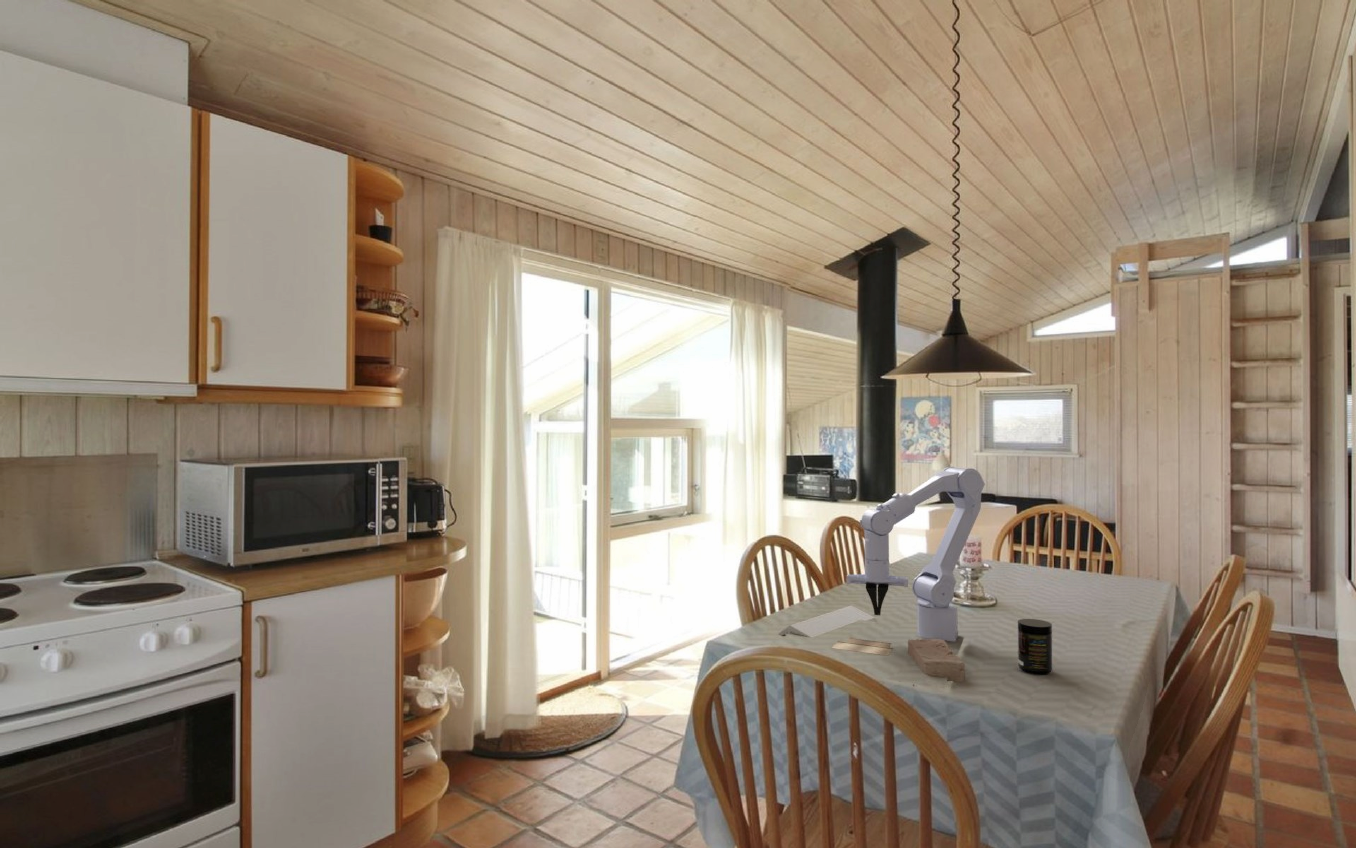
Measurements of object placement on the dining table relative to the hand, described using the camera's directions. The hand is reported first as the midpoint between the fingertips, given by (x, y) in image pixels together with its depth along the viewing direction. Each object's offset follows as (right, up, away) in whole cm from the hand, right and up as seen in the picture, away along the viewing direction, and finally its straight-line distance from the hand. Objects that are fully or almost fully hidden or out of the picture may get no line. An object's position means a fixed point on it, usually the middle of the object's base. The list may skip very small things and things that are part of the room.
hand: (877, 614), depth 177 cm
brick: (+8, -8, -18) cm, 21 cm away
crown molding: (-9, -8, +15) cm, 19 cm away
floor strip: (-6, -7, -7) cm, 12 cm away
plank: (-2, -7, -1) cm, 8 cm away
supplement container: (+29, -7, -20) cm, 36 cm away
